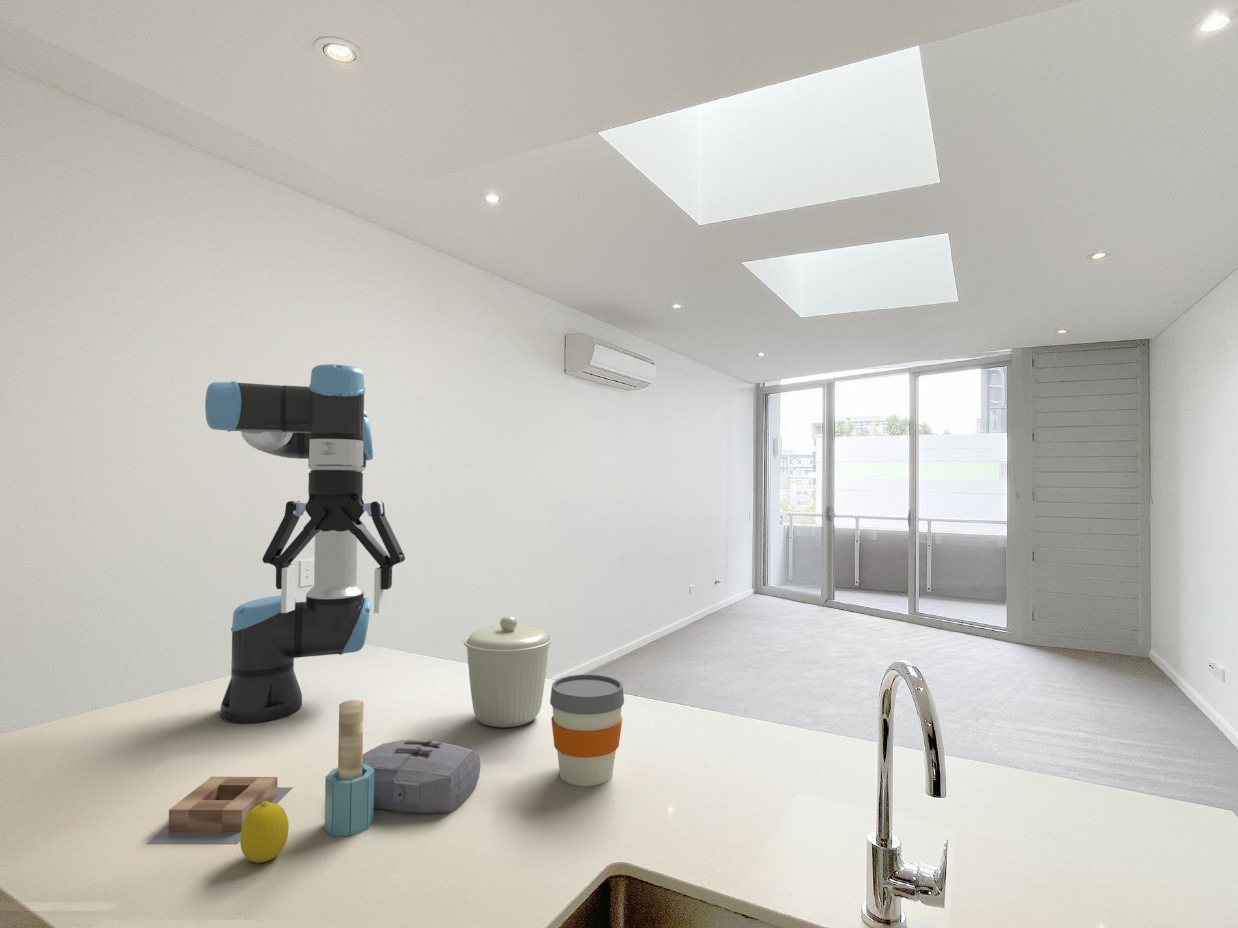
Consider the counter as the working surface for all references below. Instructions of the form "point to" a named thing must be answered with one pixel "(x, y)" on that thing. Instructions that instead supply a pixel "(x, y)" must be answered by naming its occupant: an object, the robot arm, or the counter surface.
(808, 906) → the counter surface
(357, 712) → the dowel
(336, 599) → the robot arm
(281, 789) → the tray
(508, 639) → the canister
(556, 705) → the reusable coffee cup
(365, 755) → the grey rounded bag
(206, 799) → the frame
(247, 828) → the lemon
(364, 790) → the cup
